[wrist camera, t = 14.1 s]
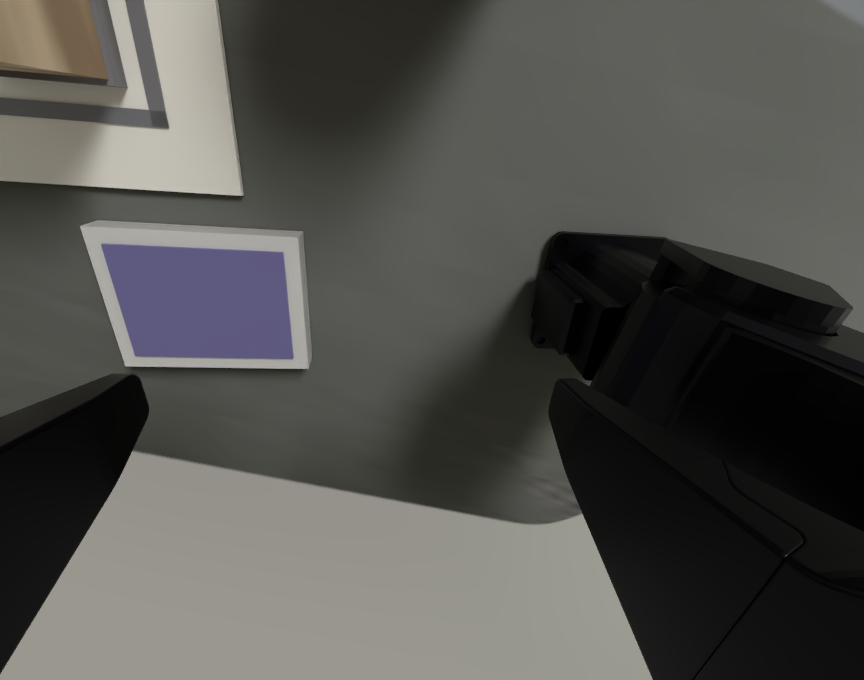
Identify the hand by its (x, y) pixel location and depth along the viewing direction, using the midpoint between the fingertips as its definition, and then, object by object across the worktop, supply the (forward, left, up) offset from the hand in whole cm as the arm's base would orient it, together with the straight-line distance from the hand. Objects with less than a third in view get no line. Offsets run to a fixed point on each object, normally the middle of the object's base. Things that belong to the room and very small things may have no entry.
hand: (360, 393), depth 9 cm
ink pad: (+8, +3, -12) cm, 15 cm away
